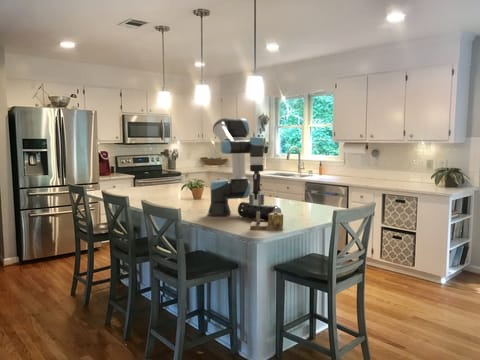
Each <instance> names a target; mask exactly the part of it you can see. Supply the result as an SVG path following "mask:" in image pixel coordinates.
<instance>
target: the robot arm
mask: <svg viewBox="0 0 480 360" xmlns="http://www.w3.org/2000/svg"><path fill="white" fill-rule="evenodd" d="M212 126H213V127H212V132H213V134H214V136H215V137H216V138H218V140H219V142H220V146H219V147H220V148H219V149H220V152H221V154H227V155H230V154H231V162H232V163H231V164H232V177H230V181H229V180H228V179H218V180H214V181H211V183H210V189H209V190H210V204H209V207H208V208H209V209H208V211H207V212H208V213H207V215H208V216H210V217H217V218H219V217H228V216H229V217H230V216H231V213H232V211H231V209H230V205H229V200H234V199H235V200H237V199H248V197H249V194H250V193H252V194H253V205H258V193H261V192H262V189H261V173H260V172H263V171H264V161H265V158H264V143H265V142H264V138H263V136H251V137H250V138H249V140H246V139H247V136H249V135H250V127H249V122H248V120H247V119H246V118H240V117H237V118H234V117H233V118H228V117H227V118H226V117H225V118H221V119H219V120H217V121H216V122H214V124H213V125H212ZM245 154H249V164H250V165H249V171H250V172H253V174H252V178H253V179H252V180H253V183H252V186H253V187H252V186H251V182H250V181H249V179H248V177H247V176H246V162H245V161H246V160H245V159H246V157H245V156H246V155H245ZM251 187H252V188H251ZM251 189H252V192H251Z"/></svg>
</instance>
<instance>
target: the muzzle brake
mask: <svg viewBox="0 0 480 360" xmlns="http://www.w3.org/2000/svg"><path fill="white" fill-rule="evenodd" d="M257 212H260V220H263V222H268V214H270V213H274V212H277V213H282V209H281V207H278V206H277V205H267V204H264V205H249V202H245V201H242V202H240V203H239V204H238V207H237V213H238V215H239V216H241V218H243V219H251V220H256V215H257Z"/></svg>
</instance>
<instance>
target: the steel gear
mask: <svg viewBox="0 0 480 360" xmlns="http://www.w3.org/2000/svg"><path fill="white" fill-rule="evenodd" d="M248 197H249V198H248V199H249V202H248V203H249V205H253V194H252V192H250V194H249V196H248ZM258 205H265V193H261V192H260V193H258Z"/></svg>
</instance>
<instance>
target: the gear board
mask: <svg viewBox="0 0 480 360" xmlns="http://www.w3.org/2000/svg"><path fill="white" fill-rule="evenodd" d="M255 220H256V221H251V223H250V230H257V231H259V230H264V231H283V229H284V228H283V227H284V213H282V212H281V213H277V212H274V213H270V214H268V222H267V221H261V219H260V212H257V215H256V219H255Z"/></svg>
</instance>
